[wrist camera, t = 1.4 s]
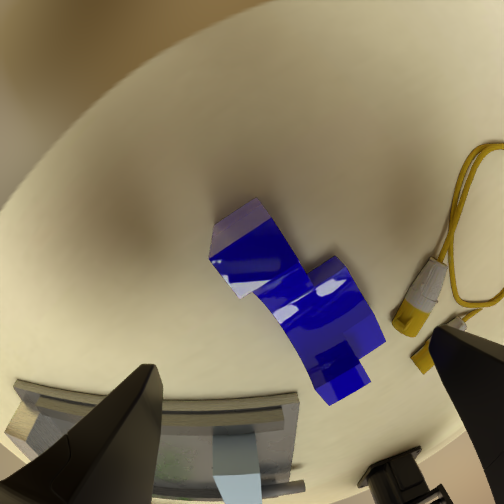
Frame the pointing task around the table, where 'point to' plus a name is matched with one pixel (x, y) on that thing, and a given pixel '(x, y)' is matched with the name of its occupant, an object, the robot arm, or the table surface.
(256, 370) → the table surface
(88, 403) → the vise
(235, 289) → the cable holder
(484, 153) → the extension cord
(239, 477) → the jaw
